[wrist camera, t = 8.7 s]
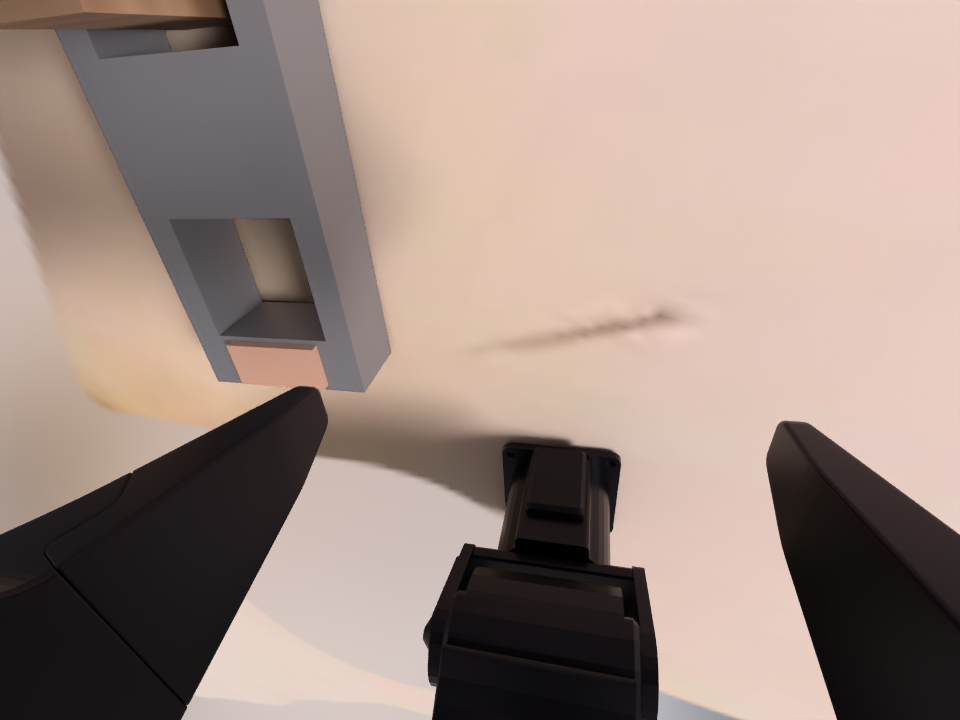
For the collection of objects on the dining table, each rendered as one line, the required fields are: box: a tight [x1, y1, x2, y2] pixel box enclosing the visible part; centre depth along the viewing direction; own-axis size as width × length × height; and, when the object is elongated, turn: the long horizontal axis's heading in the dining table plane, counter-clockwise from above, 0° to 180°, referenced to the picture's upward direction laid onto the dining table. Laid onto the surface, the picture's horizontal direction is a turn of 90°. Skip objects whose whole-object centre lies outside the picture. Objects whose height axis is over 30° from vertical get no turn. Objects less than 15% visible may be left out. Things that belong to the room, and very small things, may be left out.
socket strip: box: [55, 0, 391, 392], centre depth 18 cm, size 22×8×4 cm, turn 4°
